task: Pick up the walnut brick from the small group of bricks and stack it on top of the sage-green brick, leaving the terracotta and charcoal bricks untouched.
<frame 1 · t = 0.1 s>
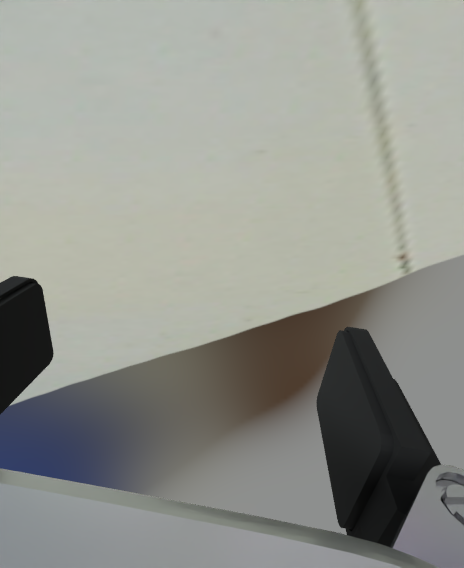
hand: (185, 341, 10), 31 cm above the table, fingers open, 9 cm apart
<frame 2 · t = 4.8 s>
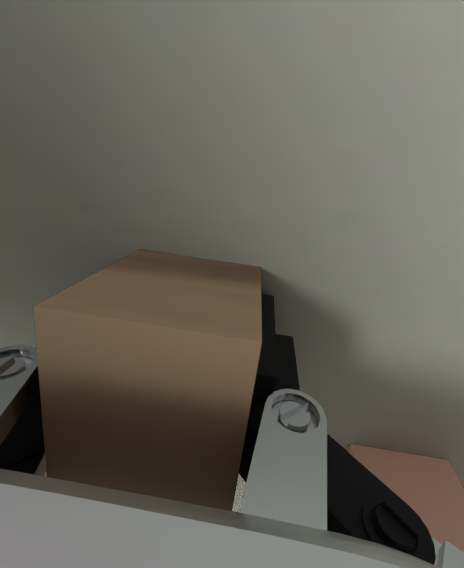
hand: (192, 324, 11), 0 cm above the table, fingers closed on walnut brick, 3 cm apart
terracotta brick: (375, 493, 14), on the table
walnut brick: (191, 339, 11), on the table, tilted 8°, touching gripper
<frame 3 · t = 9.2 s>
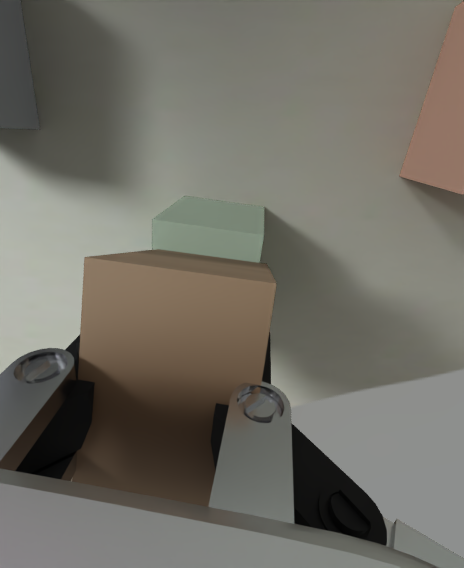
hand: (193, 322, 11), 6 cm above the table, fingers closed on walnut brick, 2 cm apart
sage brick: (218, 257, 17), on the table
walnut brick: (202, 334, 12), point 6 cm above the table, tilted 17°, touching gripper
when the fingers open (6 cm above the table, at t = 9.4 s): walnut brick stays where it is, resting on sage brick.
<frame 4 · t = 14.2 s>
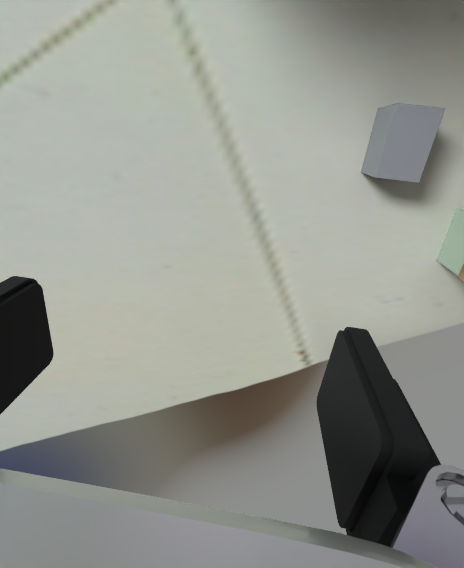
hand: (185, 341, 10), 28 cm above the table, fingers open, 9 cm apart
charcoal brick: (388, 144, 32), on the table
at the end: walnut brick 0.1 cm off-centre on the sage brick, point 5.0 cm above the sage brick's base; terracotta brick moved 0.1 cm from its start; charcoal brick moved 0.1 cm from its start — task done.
